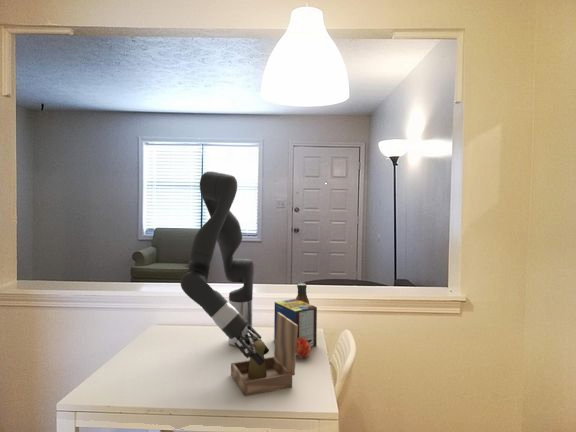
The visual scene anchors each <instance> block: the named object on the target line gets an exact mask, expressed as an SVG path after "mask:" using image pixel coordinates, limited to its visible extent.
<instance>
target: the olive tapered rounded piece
mask: <svg viewBox="0 0 576 432" xmlns="http://www.w3.org/2000/svg"><path fill="white" fill-rule="evenodd" d="M253 343H254V348H255V350H256V352H258V353H259V354H260V356H261V357H262V358H263V359H264V358H265V355H264V351H265V346H266V343H265V342H264V341H263V340H262V341H259V340H256V341H253ZM249 360H250V362H249V370H248V377H249V378H250V379H253V380H255V379H261V378H265V377H266V376H267V373H266V366H265V361H264V363H263V364H262V365H258V364H257V363H256V362H255V361H254V360H253V358H252V357H251V358H250V357H249ZM264 360H265V359H264Z"/></svg>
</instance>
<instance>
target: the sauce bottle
mask: <svg viewBox="0 0 576 432" xmlns="http://www.w3.org/2000/svg"><path fill="white" fill-rule="evenodd" d="M296 288H297V296H296V297H295V299H297V300H299V301H302V302H305V303H307V304H310V300H309V298H308V295H307V284H306V283H297V284H296Z"/></svg>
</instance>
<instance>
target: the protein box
mask: <svg viewBox="0 0 576 432" xmlns="http://www.w3.org/2000/svg"><path fill="white" fill-rule="evenodd" d="M277 312H280V313H281V314H282V315H284V316H285V317H287V318H288V319H290V320H291V321H292V322H294V323H295V324H297V325H298V332H297V338H299V337H300V338H305V339H306V340H312V341H311V342H310V346H311V348H313V347H317V345H318V343H317V340H318V338H317V336H318V335H317V334H318V333H317V330H318V329H317V328H318V327H317V325H318V322H317V321H318V317H317V316H318V314H317V313H318V307H317V306H315V305H312V304H310V303H309V304H307V303H305V302H302V301H299V300H297V299H296V298H292V299H285V300H279V301H274V321H273V322H274V325H273V326H274V328H273V329H274V332H273V333H274V335H273V339H274V340H275V337H276V322H277Z"/></svg>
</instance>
